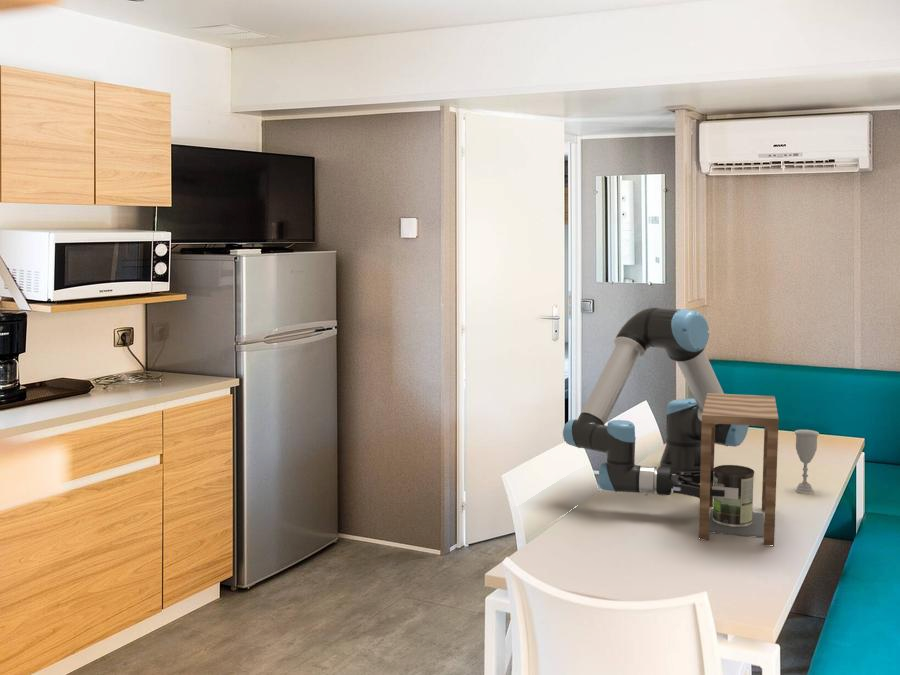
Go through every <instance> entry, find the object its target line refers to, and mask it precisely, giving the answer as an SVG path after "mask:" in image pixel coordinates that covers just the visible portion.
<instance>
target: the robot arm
mask: <svg viewBox="0 0 900 675" xmlns="http://www.w3.org/2000/svg"><path fill="white" fill-rule="evenodd" d="M708 331H710V330H709V324H708V321H707V319H706V318H705V316H704V315H703V314H701V313H700V312H698V311H695V310H691V309H687V308H685V309H679V308H675V309H674V308H659V307H648V308H644V309H642V310H640V311H639V312H638V311H637V313H635V314H634V315H632V317H631V318H629V319H628V320H627V321H626V322H625V324H624V325H623V326H622V327H621V329H620V330H619V331H618V333H617V335H616V336H615V338H614V342H613V343H614V344H615V345H614V348H613V350H612V352H611V354H610V356H609V358H608V359H607V362H606V364H605V365H604V368H603V369H602V372H601V373H600V375H599V378H598V379H597V381H596V383H595V385H594V387H593V389H592V391H591V393H590V395H589V397H588V399H587V401H586V402H585V405H584V407H583V408H582V410H581V412H580V414H579V416H578V418H577V419H569V420H568V421H567V422H566V423H565V424H564V425H563V426H564V427H563V430H562V437H563V440H564V442H565V443H566V444H567V445H568V446H569V445H570V446H572V447H576V448H577V449H585V450H590V451H591V450H592V451H595V452H599V453H604V454H606V462H602V463H601V464H600V465H599V468H598V486H599V488H600V489H601V490H603V491H610V492H615V493H617V492H619V493H620V492H622V493H636V494H643V496H647V495H648V494H649V495H655V493H656V494H657V495H659V496H660V495H661V496H671V495H672V493H673V494H678V495H685V496H689V497H695V498H698V499H700V466H701V428H702V412H703V408H704V404H705V400H706V396H707V393H715V394H725V393H724V390H723V389H722V386H721V384H720V382H719V380H718V378H717V376H716V373H715V371H714V369H713V367H712V365H711V362H710V360H709V358H708V355H707V354H706V351H705V349H706V347H707V344H708V342H709V338H710V332H708ZM649 348H660V349H664V350H665V352H666V354H667V356H668V358H669V359H670V360H671V361H673V362H675V363H677V365H678V367H679V369H680V371H681V373H682V375H683V377H684V379H685V382H686V383H687V385H688V388H689V390H690V392H691V394H692V396H693V398H679V399H674V400H671V401H669V402H668V403H667V407H666V412H665V413H666V414H665V416H666V425H665V426H666V428H665V430H666V432H665V433H666V434H665V448H664V449H663V452H662V456H661V458H660V462H659V467H656V466H654V465H652V466H651V465H637V464H636V463H635V461H636V458H635V454H636V439H637V438H636V429H635V424H634V423H633V422H632V421H629V420H626V419H625V420H623V419H615V420H614V419H613V420H610V421H608V419H609V417H610V415H611V413H612V411H613V409H614V407H615V405H616V403H617V401H618V399H619V397H620V395H621V393H622V391H623V389H624V387H625V385H626V383H627V382H628V379H629V377H630V375H631V373H632V372H633V369H634V367H635V366H636V364H637V361H638V360H639V358H640V357H644V355H645V354H646V351H647V350H648V349H649ZM606 422H607V425H606ZM749 427H750V425H732V424H715V444H716V445H720V446H725V447H734V448H737V447H738V446H740V445H742V443H744V441H745V439H746V437H747V435H748V431H749ZM713 472H714V470H711V476H710V482H713V484H714V474H713ZM712 497H713V498H714V497H716V498H729V499H738V488H728V487H715V486H714V485H713V486H712V488H711V487H710V500H711V499H712Z"/></svg>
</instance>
